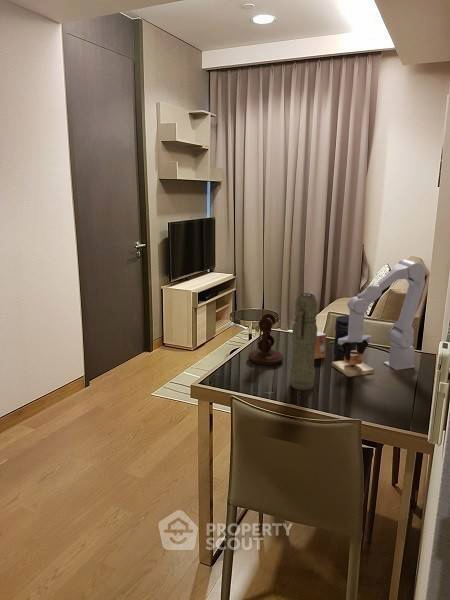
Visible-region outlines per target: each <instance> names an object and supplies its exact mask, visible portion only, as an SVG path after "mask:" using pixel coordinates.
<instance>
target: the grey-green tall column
mask: <svg viewBox="0 0 450 600" xmlns="http://www.w3.org/2000/svg"><path fill="white" fill-rule="evenodd" d="M294 308H295V309H294V310H295V313H294V315H295V318H294V322H293V325H292V337H291V339H292V361H291V362H292V365H291V367H290V373H289V374H290V377H289V378H290V387H292V388H293V389H295V390H298V391H299V390H300V391H308V390H312V389H313V388H314V385H315V384H314V381H315V377H316V376H315V375H316V371H315V370H316V369H315V366H314V365H315V359H314V354H315V344H316V342H317V331H318V326H317V314H318V312H317V311H318V302H317V297H316V295H315V294H312V293H309V292H307V293H306V292H303V293H300V294H298V295H297V298H296V301H295V307H294Z"/></svg>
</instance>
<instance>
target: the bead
mask: <svg viewBox="0 0 450 600" xmlns="http://www.w3.org/2000/svg"><path fill="white" fill-rule="evenodd" d="M353 354H354V355H353ZM363 356H364V353H363V354H361V353H359V352H358V351H357V349H356V350H353V351H351V353H350V360H349V361H347V360H346V359H345V355H344V357H343V359H344V361H345V362H347V363H348V364H350V365H357V364H362V362H363Z"/></svg>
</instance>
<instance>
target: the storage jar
mask: <svg viewBox="0 0 450 600" xmlns="http://www.w3.org/2000/svg"><path fill="white" fill-rule="evenodd" d="M348 326H349V315H339V316H337V317H335V327H334V330H335V336H334V341H333V352H335V353H336V354H340V355H344V351H343V348H342V346H341V345H340V344H338V339H339V338H343V337H346V336H348ZM350 345H351V346H353V347H352V350H351V351H353V350H356V351H357V343H356V342H353V343H350Z"/></svg>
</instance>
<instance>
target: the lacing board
mask: <svg viewBox="0 0 450 600" xmlns="http://www.w3.org/2000/svg"><path fill="white" fill-rule="evenodd" d="M353 355H354V354H353ZM331 366H332V367H333V368H334V369H336V370H337V371H339V372H340V373H342V374H343V375H345V376H346V377H349V378H350V377H354V376H356V377H357V376H361V375H368V374H374V373H375V369H374V368H373V367H371V366H370V365H367V364H366V363H364V362H363V361H362V364H357V365H350V364H348V363H347V362H345V361H344V360H337V361H332V362H331Z"/></svg>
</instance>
